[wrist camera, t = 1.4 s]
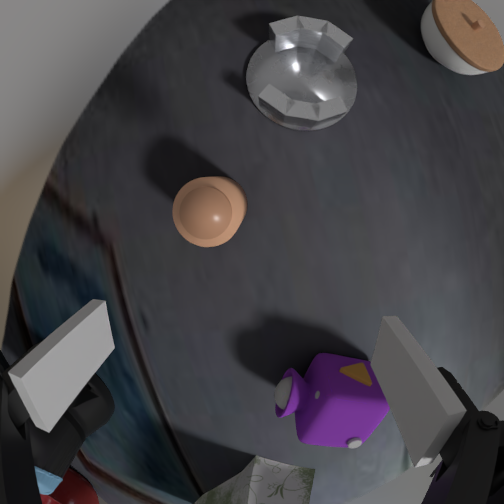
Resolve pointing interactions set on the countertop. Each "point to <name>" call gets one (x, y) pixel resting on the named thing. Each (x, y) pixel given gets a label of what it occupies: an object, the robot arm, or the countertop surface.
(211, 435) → the countertop surface
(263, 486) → the grocery bag
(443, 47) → the lidded jar
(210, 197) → the tan tapered cylinder
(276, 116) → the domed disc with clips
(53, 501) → the mixing bowl
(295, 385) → the toy camera
